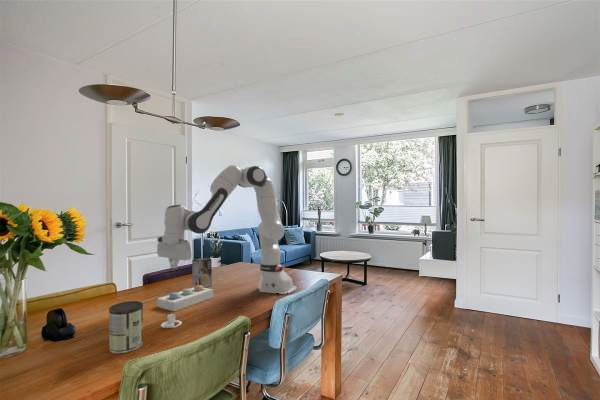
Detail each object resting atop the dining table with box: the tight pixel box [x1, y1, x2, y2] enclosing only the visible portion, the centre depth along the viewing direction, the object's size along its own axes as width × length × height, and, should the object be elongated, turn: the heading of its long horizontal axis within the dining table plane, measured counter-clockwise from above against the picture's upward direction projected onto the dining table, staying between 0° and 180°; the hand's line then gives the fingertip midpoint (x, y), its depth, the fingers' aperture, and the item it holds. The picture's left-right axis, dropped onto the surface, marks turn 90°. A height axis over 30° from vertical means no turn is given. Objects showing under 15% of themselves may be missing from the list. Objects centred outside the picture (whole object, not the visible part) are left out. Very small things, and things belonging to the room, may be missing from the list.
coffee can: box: [108, 300, 144, 354], centre depth 108 cm, size 10×10×14 cm
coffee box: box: [191, 257, 213, 288], centre depth 182 cm, size 9×6×16 cm
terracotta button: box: [194, 285, 203, 292], centre depth 161 cm, size 4×4×3 cm
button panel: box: [157, 286, 214, 312], centre depth 155 cm, size 24×12×4 cm, turn 150°
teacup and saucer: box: [160, 313, 183, 329], centre depth 126 cm, size 9×8×4 cm
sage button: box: [181, 288, 191, 296], centre depth 155 cm, size 4×4×3 cm
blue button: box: [168, 291, 179, 300], centre depth 148 cm, size 4×4×3 cm
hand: (173, 267), depth 148 cm, fingers closed
